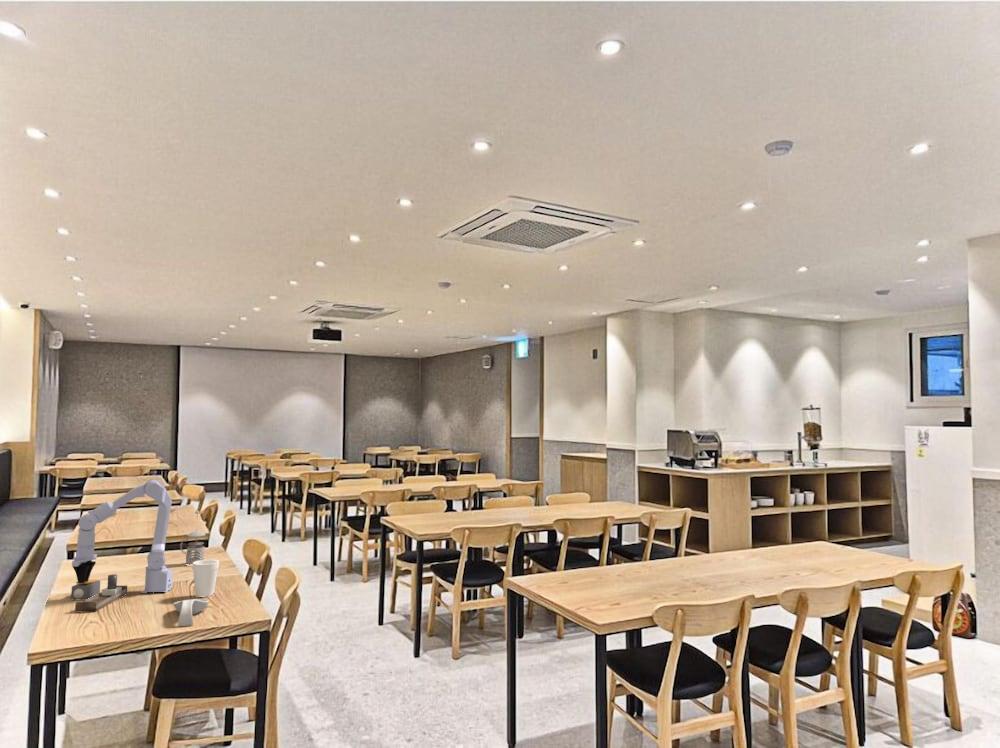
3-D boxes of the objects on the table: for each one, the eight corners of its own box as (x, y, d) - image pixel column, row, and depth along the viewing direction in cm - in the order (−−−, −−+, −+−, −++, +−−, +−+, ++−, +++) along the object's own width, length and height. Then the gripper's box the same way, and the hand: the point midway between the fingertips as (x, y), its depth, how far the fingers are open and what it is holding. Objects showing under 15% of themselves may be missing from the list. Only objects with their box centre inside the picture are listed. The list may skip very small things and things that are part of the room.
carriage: (121, 592, 262) (122, 573, 263) (115, 595, 257) (116, 576, 258) (108, 592, 262) (109, 573, 262) (101, 595, 257) (102, 576, 257)
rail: (126, 594, 265) (127, 585, 265) (95, 611, 241) (96, 602, 241) (108, 594, 264) (108, 585, 264) (75, 612, 240) (75, 602, 241)
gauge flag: (96, 581, 265) (96, 579, 265) (87, 583, 258) (87, 581, 258) (85, 581, 264) (85, 579, 264) (76, 583, 257) (76, 581, 258)
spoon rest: (174, 609, 246) (175, 589, 247) (209, 607, 250) (210, 587, 251) (166, 628, 224) (167, 606, 224) (205, 625, 228) (206, 604, 228)
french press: (204, 566, 317) (206, 512, 318) (177, 566, 314) (179, 512, 316) (208, 561, 326) (210, 509, 328) (182, 562, 323) (184, 509, 325)
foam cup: (217, 592, 270) (219, 559, 271) (217, 597, 262) (218, 563, 263) (191, 593, 267) (193, 560, 268) (190, 599, 258) (191, 565, 259)
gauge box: (99, 593, 266) (100, 580, 266) (85, 600, 256) (86, 586, 256) (84, 593, 265) (85, 580, 266) (70, 600, 255) (71, 586, 256)
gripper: (84, 542, 267) (82, 577, 266) (64, 549, 253) (61, 586, 251) (103, 542, 268) (100, 577, 266) (84, 549, 253) (81, 586, 252)
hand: (83, 582), depth 259 cm, fingers closed, pressing on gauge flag
